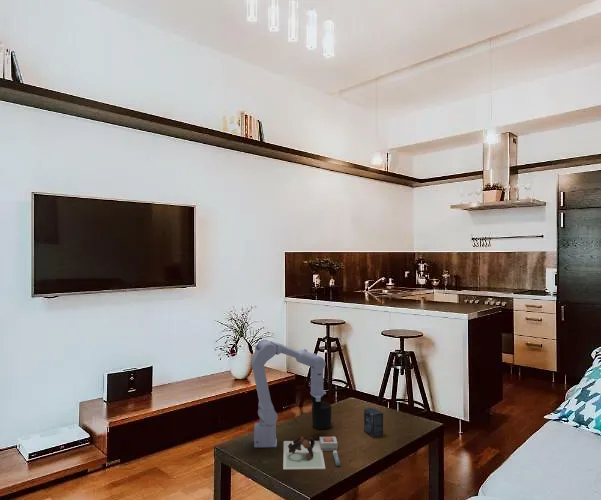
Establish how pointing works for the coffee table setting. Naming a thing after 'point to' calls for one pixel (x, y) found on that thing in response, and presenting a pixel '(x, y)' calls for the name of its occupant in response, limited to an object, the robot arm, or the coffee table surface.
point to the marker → (336, 458)
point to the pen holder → (322, 416)
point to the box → (373, 422)
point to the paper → (303, 458)
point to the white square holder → (328, 444)
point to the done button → (328, 439)
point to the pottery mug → (305, 443)
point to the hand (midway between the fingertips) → (317, 412)
